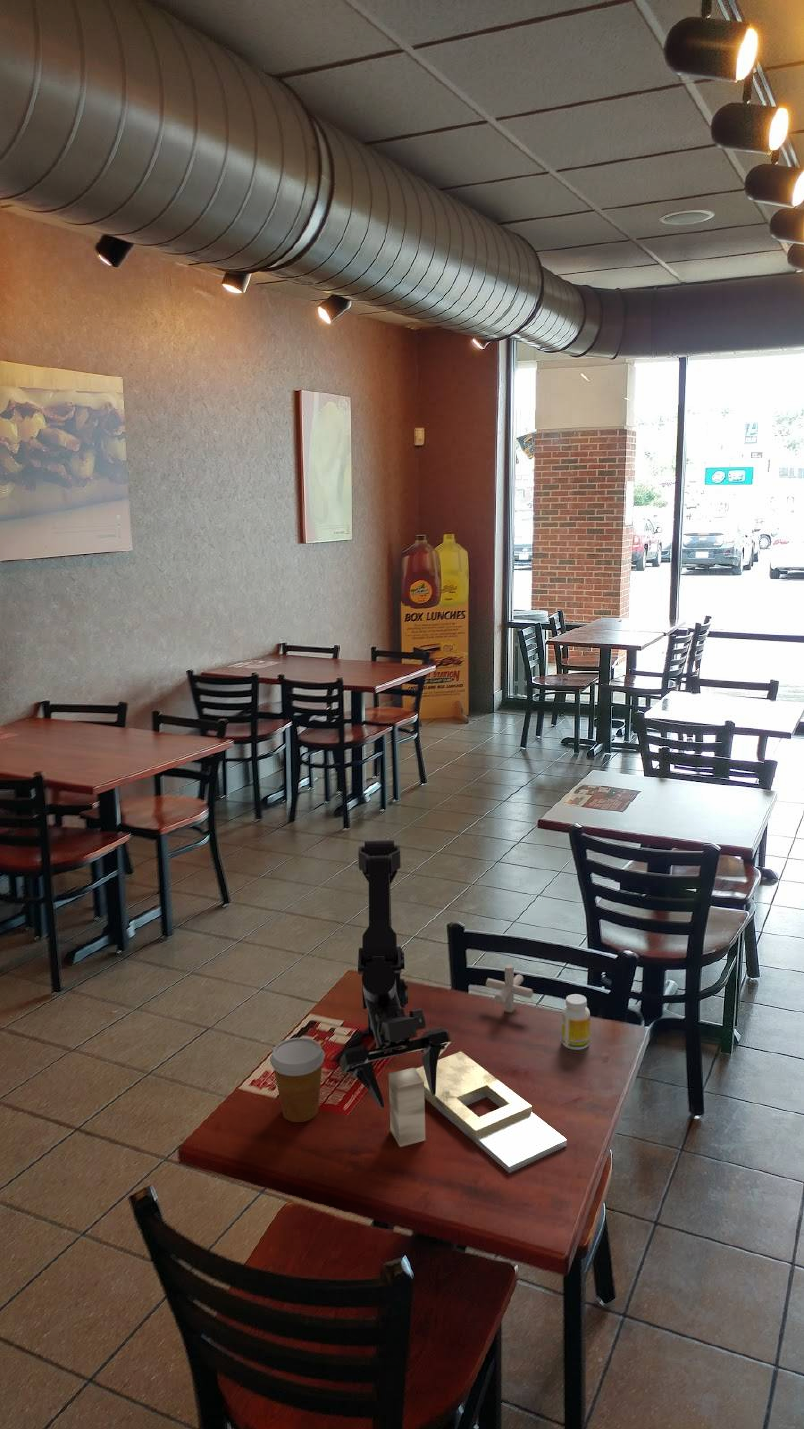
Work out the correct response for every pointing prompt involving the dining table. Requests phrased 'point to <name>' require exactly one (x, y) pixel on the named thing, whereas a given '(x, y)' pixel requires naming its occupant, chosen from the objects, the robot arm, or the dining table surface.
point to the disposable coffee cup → (298, 1077)
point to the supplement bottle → (575, 1022)
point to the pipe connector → (509, 988)
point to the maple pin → (407, 1106)
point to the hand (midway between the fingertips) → (408, 1101)
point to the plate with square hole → (499, 1133)
